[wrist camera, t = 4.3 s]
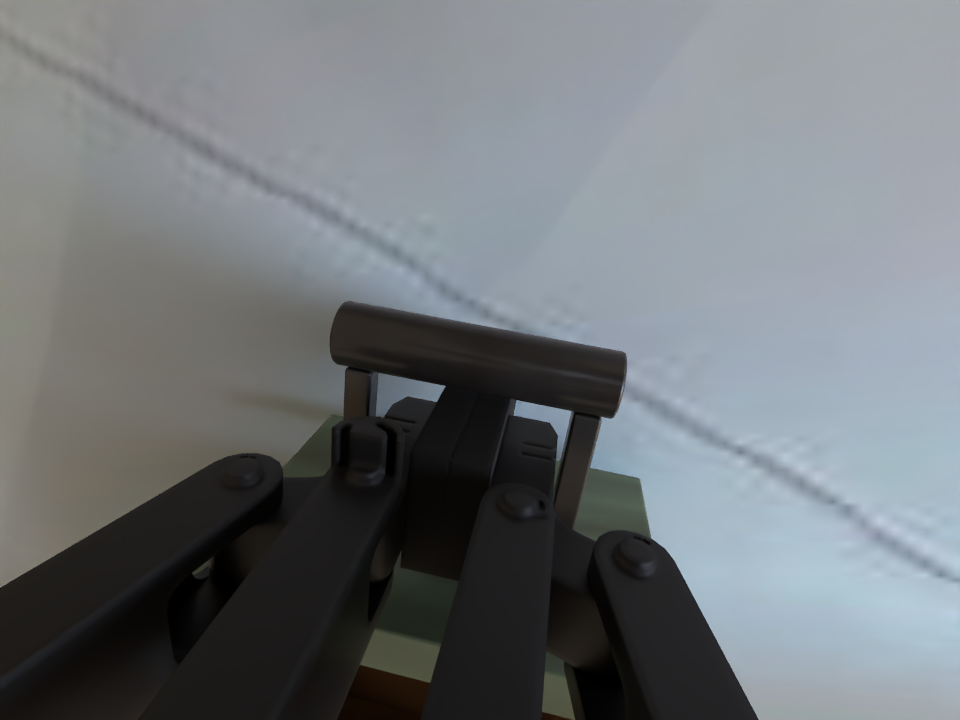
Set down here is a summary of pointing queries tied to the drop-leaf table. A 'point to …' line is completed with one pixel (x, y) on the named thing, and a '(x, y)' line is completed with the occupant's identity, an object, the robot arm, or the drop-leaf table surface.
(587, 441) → the drawer
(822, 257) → the drop-leaf table surface
